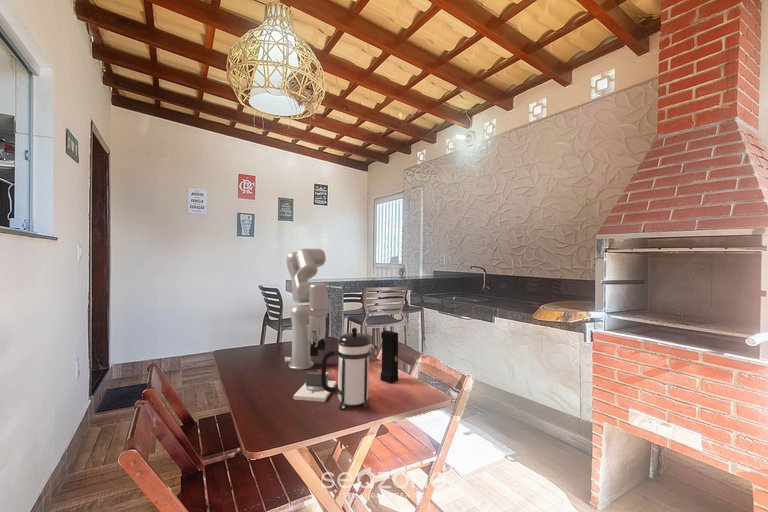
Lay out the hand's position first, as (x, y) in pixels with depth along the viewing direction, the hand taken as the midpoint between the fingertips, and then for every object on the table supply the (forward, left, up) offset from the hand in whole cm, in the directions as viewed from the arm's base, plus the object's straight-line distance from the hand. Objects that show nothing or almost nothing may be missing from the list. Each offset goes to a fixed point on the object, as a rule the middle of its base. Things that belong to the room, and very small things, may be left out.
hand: (317, 352), depth 146 cm
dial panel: (0, 0, -17) cm, 17 cm away
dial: (0, 0, -15) cm, 15 cm away
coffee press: (+17, -9, -17) cm, 25 cm away
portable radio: (+30, +17, -17) cm, 38 cm away
